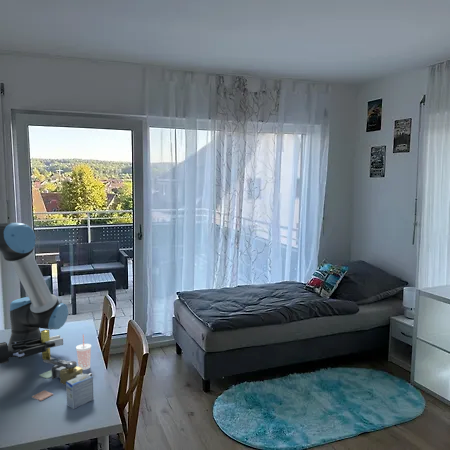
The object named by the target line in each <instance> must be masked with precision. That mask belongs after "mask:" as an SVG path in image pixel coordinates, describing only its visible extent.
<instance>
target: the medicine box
mask: <svg viewBox="0 0 450 450" xmlns="http://www.w3.org/2000/svg"><path fill="white" fill-rule="evenodd" d="M83 374H84V375H81V376H78V377H76V378H74V379H71V380H69V381H67V382H66V385H65V391H66V405H67V406H68V407H70V408H71V409H72V410H73V409H77V408H79V407H81V406H83V405H85V404H88V403H89V402H92V401H94V400H95V399H94V397H95V396H94V377H93V376H92V377H91V376H90V375H88V374H89V373H83Z"/></svg>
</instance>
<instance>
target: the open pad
mask: <svg viewBox="0 0 450 450" xmlns="http://www.w3.org/2000/svg"><path fill="white" fill-rule="evenodd" d="M38 376H39V377H41V378H43V379H46V380H49V379H50V378H51V379H52V371H51V369H50V370H48V371H46V372H45V371H44V372H43V373H41V374H39V375H38Z"/></svg>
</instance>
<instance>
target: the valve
mask: <svg viewBox="0 0 450 450" xmlns="http://www.w3.org/2000/svg"><path fill="white" fill-rule="evenodd" d="M50 370H51V371H52V377H51V379H53V380H54V379H56V378H59V379H60V380H59V381H60V384H62V385H65V386H66V382H67V381H69V380H71V379H74V378H76V377H78V376H81V375H84V374H85V373H83V372H84V370H83V369H82V368H80V367H78V365H77V366H76V367H75V368H73V369H66V367H63V366H58V365H53V366H51V367H50ZM87 374H88V375H90V376H91V377H93V373H91V372H90V373H87Z"/></svg>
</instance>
